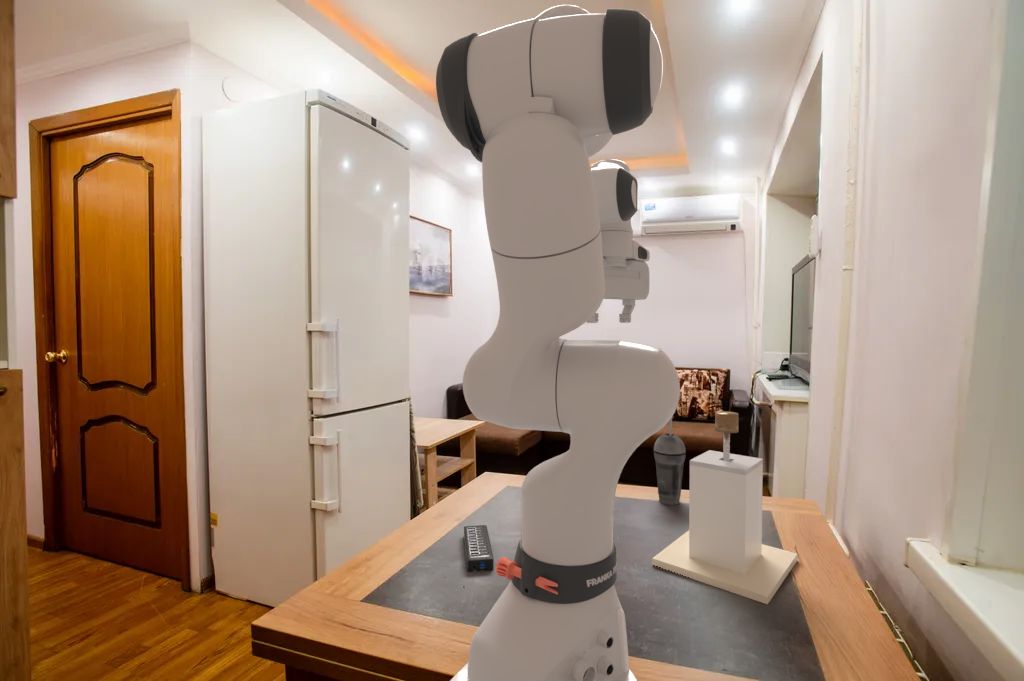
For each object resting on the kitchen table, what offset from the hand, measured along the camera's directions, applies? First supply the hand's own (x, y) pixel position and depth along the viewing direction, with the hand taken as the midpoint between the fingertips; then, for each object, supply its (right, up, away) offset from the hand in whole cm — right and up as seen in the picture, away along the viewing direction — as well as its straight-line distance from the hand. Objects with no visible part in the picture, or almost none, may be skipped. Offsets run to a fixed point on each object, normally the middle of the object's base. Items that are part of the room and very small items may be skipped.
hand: (609, 322), depth 96 cm
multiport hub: (-25, -42, -6) cm, 49 cm away
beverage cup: (+18, -41, +19) cm, 48 cm away
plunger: (+18, -34, -11) cm, 40 cm away
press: (+18, -41, -10) cm, 46 cm away
